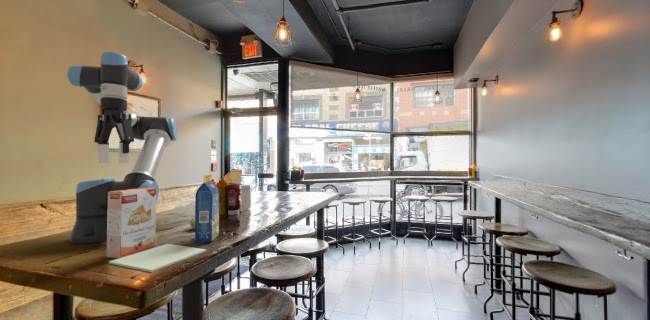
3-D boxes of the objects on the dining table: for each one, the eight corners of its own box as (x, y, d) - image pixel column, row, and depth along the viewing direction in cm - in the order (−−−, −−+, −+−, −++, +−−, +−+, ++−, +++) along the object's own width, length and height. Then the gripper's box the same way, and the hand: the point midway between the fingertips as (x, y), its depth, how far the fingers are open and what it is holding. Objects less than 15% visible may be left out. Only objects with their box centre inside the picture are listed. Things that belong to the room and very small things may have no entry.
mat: (108, 263, 86) (108, 261, 86) (167, 245, 105) (167, 243, 105) (151, 272, 80) (151, 270, 80) (206, 251, 98) (206, 249, 98)
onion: (198, 232, 125) (198, 215, 125) (186, 230, 129) (186, 214, 129) (213, 228, 132) (213, 212, 132) (201, 226, 136) (201, 211, 136)
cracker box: (121, 259, 90) (122, 191, 90) (105, 258, 91) (105, 191, 91) (156, 246, 103) (157, 187, 103) (142, 245, 104) (142, 187, 105)
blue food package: (219, 234, 121) (219, 174, 121) (212, 242, 109) (212, 175, 109) (203, 234, 120) (203, 174, 120) (194, 242, 108) (194, 175, 108)
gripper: (81, 98, 102) (81, 162, 102) (124, 93, 93) (124, 163, 93) (104, 102, 109) (104, 162, 109) (146, 98, 100) (146, 163, 100)
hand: (113, 163), depth 101 cm, fingers open, 10 cm apart
